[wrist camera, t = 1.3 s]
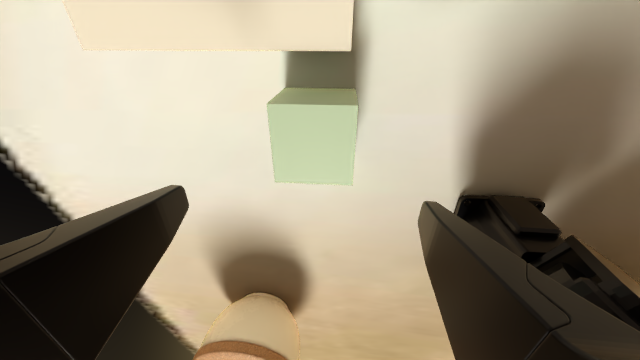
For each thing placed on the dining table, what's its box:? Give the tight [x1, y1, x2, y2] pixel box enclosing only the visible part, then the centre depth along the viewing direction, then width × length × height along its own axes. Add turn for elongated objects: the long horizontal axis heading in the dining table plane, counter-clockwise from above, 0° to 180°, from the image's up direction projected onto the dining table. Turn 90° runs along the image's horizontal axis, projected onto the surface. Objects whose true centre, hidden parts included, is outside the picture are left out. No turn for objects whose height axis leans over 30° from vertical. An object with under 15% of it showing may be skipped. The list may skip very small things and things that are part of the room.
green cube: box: [267, 88, 358, 186], centre depth 17 cm, size 5×5×5 cm
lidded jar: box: [193, 293, 300, 360], centre depth 28 cm, size 11×11×9 cm
